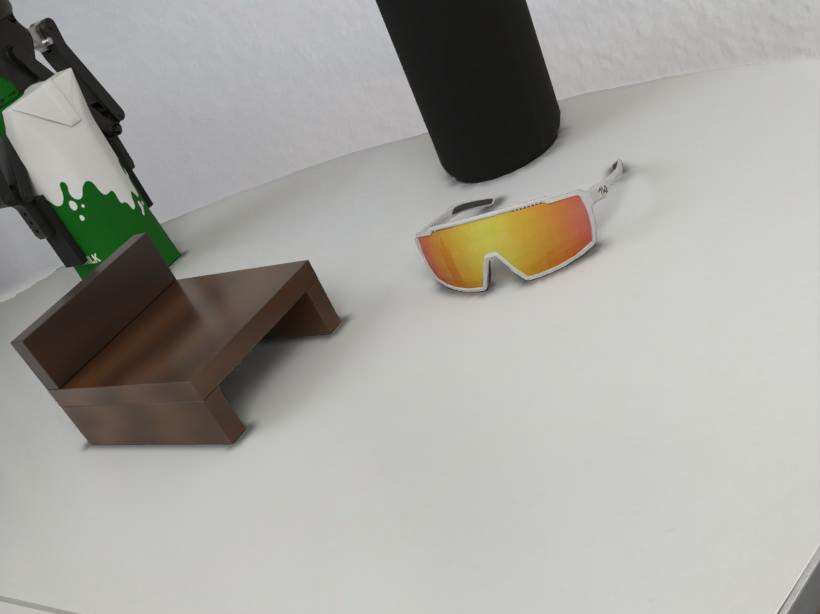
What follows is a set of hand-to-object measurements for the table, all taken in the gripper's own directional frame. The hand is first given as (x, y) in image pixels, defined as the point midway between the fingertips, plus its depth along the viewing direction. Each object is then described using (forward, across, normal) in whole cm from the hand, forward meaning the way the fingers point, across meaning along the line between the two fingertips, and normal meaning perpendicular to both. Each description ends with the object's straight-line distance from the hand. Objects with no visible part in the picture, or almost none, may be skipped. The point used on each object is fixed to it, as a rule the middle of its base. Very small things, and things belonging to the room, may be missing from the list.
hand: (110, 235), depth 96 cm
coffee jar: (+5, +12, -38) cm, 40 cm away
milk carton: (+5, 0, 0) cm, 5 cm away
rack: (+5, -19, -28) cm, 34 cm away
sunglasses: (+5, -3, -48) cm, 48 cm away
